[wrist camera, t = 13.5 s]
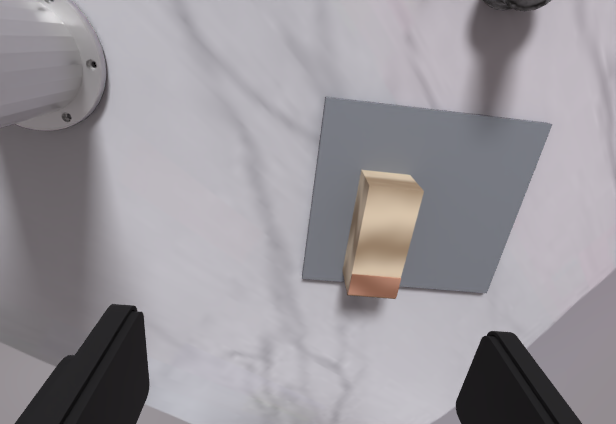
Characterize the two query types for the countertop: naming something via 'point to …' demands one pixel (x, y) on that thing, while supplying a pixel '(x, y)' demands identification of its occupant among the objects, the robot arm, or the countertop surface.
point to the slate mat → (424, 187)
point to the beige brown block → (380, 233)
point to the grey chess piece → (516, 4)
